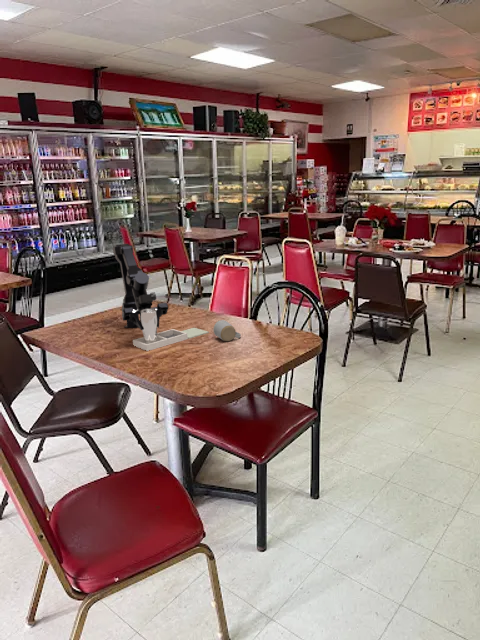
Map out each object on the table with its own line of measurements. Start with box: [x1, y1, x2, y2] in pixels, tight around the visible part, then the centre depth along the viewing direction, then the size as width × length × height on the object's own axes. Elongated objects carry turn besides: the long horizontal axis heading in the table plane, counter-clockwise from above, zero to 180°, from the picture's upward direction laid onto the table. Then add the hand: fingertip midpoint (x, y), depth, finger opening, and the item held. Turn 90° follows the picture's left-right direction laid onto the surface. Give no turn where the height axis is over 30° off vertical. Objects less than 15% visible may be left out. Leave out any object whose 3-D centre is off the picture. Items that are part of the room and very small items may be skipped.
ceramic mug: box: [213, 319, 242, 342], centre depth 204 cm, size 11×8×8 cm
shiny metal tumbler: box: [139, 307, 158, 344], centre depth 199 cm, size 7×7×15 cm
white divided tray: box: [132, 327, 210, 352], centre depth 207 cm, size 32×11×2 cm, turn 133°
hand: (150, 328), depth 197 cm, fingers closed on shiny metal tumbler, 6 cm apart
